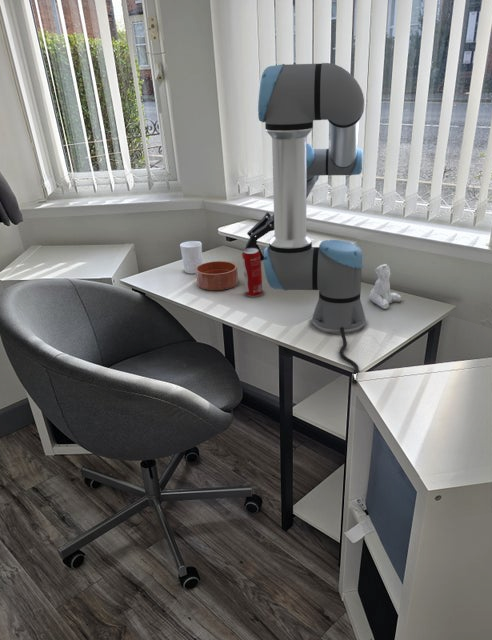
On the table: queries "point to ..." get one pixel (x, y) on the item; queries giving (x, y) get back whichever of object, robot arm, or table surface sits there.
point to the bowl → (217, 275)
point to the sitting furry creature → (383, 288)
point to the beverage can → (252, 272)
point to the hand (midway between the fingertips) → (258, 261)
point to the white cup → (191, 255)
